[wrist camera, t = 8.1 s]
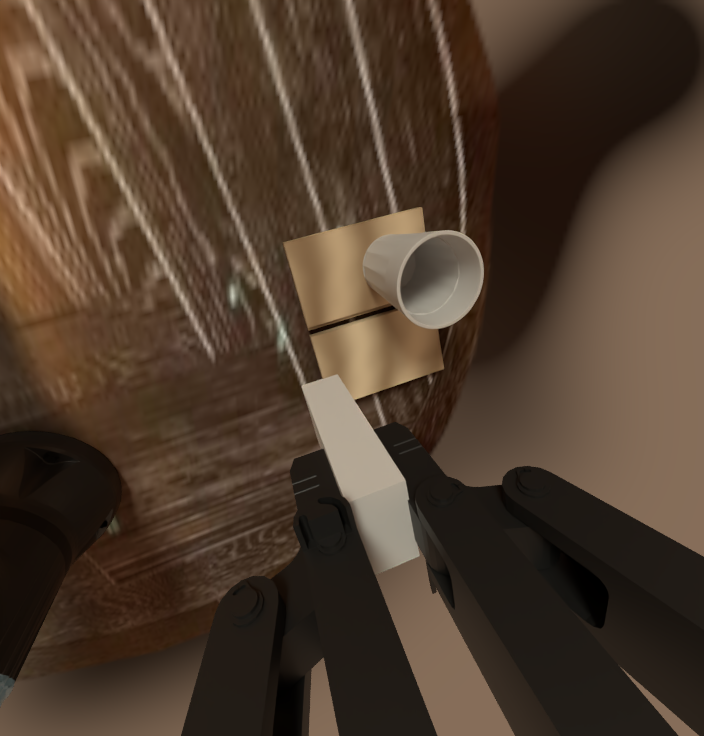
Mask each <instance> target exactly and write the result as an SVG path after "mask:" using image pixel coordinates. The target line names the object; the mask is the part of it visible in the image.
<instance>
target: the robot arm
mask: <svg viewBox="0 0 704 736" xmlns="http://www.w3.org/2000/svg"><path fill="white" fill-rule="evenodd" d="M302 389H303V393H304V396H305V399H306V403H307V406H308V409H309V412H310V416H311V419H312V422H313V425H314V429H315V432H316V435H317V438H318V442H319V444H320V447H321V450H318V451H315V452H313V453H310V454H307V455H304V456H301V457H298V458H296V459H294V461H293V464H292V467H291V470H290V475H291V479H292V484H293V489H294V494H295V499H296V504H297V509H298V511H297V512H296V514H295V516H294V523H293V528H294V530H295V533H296V535H297V538H298V541H299V543H300V546H301V548H300V550H299V552H298V554H297V556H296V557H295V558H294V560H293V561H292V562H291V563H290V564H289V565H288V566H287V567H286V568H285V569H283V570H282V571H281V572H279V573H278V574H277V575H276V576H274V577H273V578H272V579H268V578H267V577H265V576H252V577H249V578H247V579H244V580H241V581H240V582H239V583H237V584H236V585H235V586H233V587H232V588H231V589H230V590H229V591H228V592H227V593H226V595H225V596H224V597H223V598H222V600H221V602H220V604H219V606H218V608H217V611H216V613H215V616H214V620H213V623H212V627H211V630H210V634H209V638H208V641H207V645H206V648H205V652H204V655H203V659H202V663H201V666H200V670H199V673H198V677H197V680H196V684H195V687H194V691H193V695H192V698H191V702H190V705H189V709H188V713H187V716H186V720H185V723H184V727H183V731H182V734H181V736H309V713H310V689H311V688H310V687H311V669H312V668H313V667H314V666H315V665H316V664H317V663H318V662H319V661H320V660H321V659H322V658H323V657H324V661H325V666H326V671H327V676H328V681H329V686H330V691H331V696H332V701H333V706H334V711H335V717H336V722H337V726H338V732H339V736H437V734H436V731H435V729H434V726H433V723H432V721H431V719H430V716H429V713H428V710H427V708H426V705H425V703H424V700H423V697H422V695H421V693H420V690H419V687H418V685H417V682H416V679H415V677H414V674H413V672H412V669H411V667H410V664H409V661H408V659H407V656H406V654H405V651H404V649H403V646H402V643H401V641H400V638H399V636H398V633H397V630H396V628H395V625H394V623H393V620H392V617H391V615H390V612H389V610H388V607H387V605H386V603H385V599H384V597H383V595H382V592H381V589H380V587H379V584H378V581H377V579H376V577H375V575H377V574H379V573H382V572H384V571H386V570H389V569H391V568H393V567H395V566H398V565H400V564H402V563H405V562H407V561H409V560H412V559H414V558H416V557H419V550H418V546H419V548H420V550H421V551H422V553H423V555H424V557H425V559H426V564H427V570H428V576H429V581H430V586H431V589H432V593H433V594H434V593H436V588H437V590H438V592H439V594H440V596H441V598H442V599H443V601H444V603H445V605H446V607H447V609H448V611H449V613H450V614H451V616H452V618H453V620H454V622H455V624H456V626H457V627H458V630H459V631H460V633H461V635H462V637H463V639H464V641H465V643H466V644H467V646H468V648H469V650H470V652H471V654H472V656H473V658H474V659H475V661H476V663H477V665H478V667H479V669H480V671H481V673H482V674H483V676H484V678H485V680H486V682H487V684H488V686H489V688H490V689H491V691H492V693H493V695H494V697H495V699H496V701H497V703H498V704H499V706H500V708H501V710H502V712H503V714H504V716H505V718H506V719H507V721H508V723H509V725H510V727H511V729H512V731H513V732H514V734H515V736H678V735H677V733H676V732H675V731H674V730H673V729H672V728H671V726H670V725H669V724H668V723H667V722H666V721H665V719H664V718H663V717H662V716H661V715H660V714H659V712H658V711H657V710H656V709H655V708H654V706H653V705H652V704H651V703H650V702H649V701H648V699H647V698H646V697H645V696H644V695H643V694H642V692H641V691H640V690H639V689H638V688H637V687H636V685H635V684H634V683H633V682H632V681H631V679H630V678H629V677H628V676H627V675H626V674H625V672H624V671H623V670H622V669H621V668H623V669H624V670H625V671H626V672H627V673H628V674H629V675H631V676H632V677H633V678H634V679H635V680H636V681H637V682H639V683H640V684H641V685H642V686H643V687H644V688H645V689H647V690H648V691H649V692H650V693H651V694H652V695H653V696H655V697H656V698H657V699H658V700H659V701H660V702H661V703H663V704H664V705H665V706H666V707H667V708H668V709H669V710H671V711H672V712H673V713H674V714H675V715H677V717H679V718H680V719H681V720H682V721H683V722H684V723H685V724H687V725H688V726H689V727H690V728H691V729H692V730H693V731H695V732H696V733H697V734H698V735H699V736H704V557H703V556H701V555H700V554H698V553H696V552H694V551H692V550H691V549H689V548H687V547H685V546H683V545H682V544H680V543H678V542H676V541H674V540H672V539H671V538H669V537H667V536H665V535H663V534H662V533H660V532H658V531H656V530H654V529H653V528H651V527H649V526H647V525H645V524H643V523H641V522H640V521H638V520H636V519H634V518H633V517H631V516H629V515H627V514H625V513H623V512H622V511H620V510H618V509H616V508H614V507H613V506H611V505H609V504H607V503H605V502H604V501H602V500H600V499H598V498H596V497H595V496H593V495H591V494H589V493H587V492H585V491H584V490H582V489H580V488H578V487H576V486H574V485H573V484H571V483H569V482H567V481H566V480H564V479H562V478H560V477H558V476H557V475H555V474H553V473H551V472H549V471H546V470H544V469H541V468H538V467H531V466H523V467H516V468H514V469H512V470H510V471H508V472H507V473H506V475H505V476H504V477H503V481H502V485H495V486H486V487H469V486H465V485H464V484H462V483H461V482H460V481H459V480H457V479H454V478H451V477H447V476H446V475H445V474H444V472H443V471H442V470H441V469H440V467H439V466H438V465H437V464H436V462H435V461H434V460H433V459H432V458H431V456H430V455H429V454H428V453H427V451H426V450H425V449H424V448H423V447H422V446H421V444H420V443H419V442H418V440H417V439H415V437H414V435H413V434H412V433H411V432H410V431H409V429H408V428H407V427H405V426H402V425H400V424H398V423H396V422H394V423H391V424H388V425H385V426H383V427H380V428H377V429H374V430H373V429H372V427H371V426H370V424H369V422H368V421H367V419H366V418H365V416H364V415H363V413H362V412H361V410H360V408H359V407H358V405H357V404H356V402H355V401H354V399H353V398H352V396H351V394H350V393H349V391H348V390H347V388H346V387H345V385H344V384H343V382H342V380H341V379H340V377H339V376H338V374H337V375H333V376H330V377H327V378H324V379H321V380H318V381H315V382H312V383H308V384H305V385H302ZM121 493H122V490H121V482H120V479H119V476H118V474H117V472H116V470H115V468H114V467H113V465H112V464H111V463H110V462H109V460H108V459H107V458H106V457H105V456H103V455H102V454H101V453H100V452H99V451H97V450H96V449H94V448H93V447H91V446H89V445H87V444H85V443H83V442H81V441H79V440H76V439H74V438H71V437H68V436H64V435H60V434H55V433H49V432H37V431H26V432H15V433H8V434H4V435H0V706H1V704H2V703H3V701H4V700H5V699H6V698H7V697H8V695H9V694H10V693H11V691H12V688H13V687H14V683H15V681H16V679H17V677H18V675H19V672H20V670H21V668H22V666H23V664H24V662H25V660H26V658H27V656H28V653H29V651H30V649H31V647H32V645H33V643H34V641H35V639H36V636H37V634H38V632H39V630H40V628H41V626H42V624H43V622H44V620H45V617H46V615H47V613H48V611H49V609H50V607H51V605H52V603H53V601H54V598H55V596H56V594H57V592H58V590H59V588H60V586H61V584H62V582H63V579H64V577H65V575H66V573H67V571H68V570H69V568H70V566H71V565H72V564H73V563H74V562H75V561H76V560H77V559H78V558H79V557H80V556H81V555H82V554H83V553H84V552H85V551H86V550H87V549H88V548H89V547H90V546H91V545H92V544H93V543H94V542H95V541H96V540H97V539H98V538H99V537H100V536H101V535H102V534H103V533H104V532H105V531H106V529H107V528H108V526H109V525H110V523H111V522H112V520H113V518H114V515H115V513H116V511H117V508H118V506H119V503H120V500H121ZM620 667H621V668H620Z"/></svg>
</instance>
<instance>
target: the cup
mask: <svg viewBox="0 0 704 736" xmlns="http://www.w3.org/2000/svg"><path fill="white" fill-rule="evenodd" d="M363 274H364V277H365V280H366V282H367V283H368V285H369V286H370V287H371V288H372V289H373V290H375V291H376V292H377V293H378V294H380V295H381V296H382V297H383V298H384V299H386V300H387V301H388V302H389V303H390V304H392V305H393V306H394V307H395V308H396V309H398V310H399V311H400V312H401V313H402V314H403V315H404V316H406V317H407V318H408V319H409V320H410V321H411V322H413V323H414V324H416V325H417V326H420V327H422V328H426V329H440V328H444V327H447V326H450V325H452V324H454V323H456V322H457V321H459V320H460V319H461V318H462V317H464V316H465V315H466V314H467V313H468V312H469V310H470V309H471V308H472V306H473V305H474V303H475V302H476V300H477V298H478V296H479V293H480V291H481V287H482V283H483V276H484V268H483V261H482V257H481V254H480V252H479V250H478V248H477V246H476V245H475V244H474V242H473V241H472V240H471V239H470V238H468V237H467V236H465V235H464V234H462V233H459V232H456V231H450V230H444V231H433V232H423V233H412V234H388V235H384V236H381V237H379V238H378V239H376V240H375V241H374V242H373V243H372V244H371V245H370V246H369V247H368V249H367V251H366V253H365V255H364V259H363Z"/></svg>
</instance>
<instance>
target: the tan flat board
mask: <svg viewBox="0 0 704 736" xmlns="http://www.w3.org/2000/svg"><path fill="white" fill-rule="evenodd" d="M423 232H425V228H424V219H423V211H422V207H418V208H413V209H409V210H406V211H402V212H398V213H394V214H390V215H386V216H383V217H379V218H375V219H371V220H367V221H363V222H360V223H356V224H352V225H348V226H344V227H340V228H337V229H333V230H329V231H325V232H321V233H317V234H313V235H310V236H306V237H302V238H298V239H294V240H290V241H287V242H283V247H284V250H285V254H286V257H287V261H288V264H289V267H290V271H291V274H292V278H293V281H294V285H295V288H296V291H297V295H298V298H299V302H300V305H301V309H302V312H303V316H304V319H305V322H306V326H307V329H308V331H310V330H313V329H316V328H319V327H323V326H326V325H329V324H332V323H336V322H339V321H342V320H346V319H349V318H352V317H355V316H359V315H362V314H365V313H369V312H372V311H375V310H378V309H382V308H385V307H388V306H391V305H392V304H390V303H389V302H388V301H387V300H386V299H384V298H383V297H382V296H381V295H380V294H378V293H377V292H376V291H375V290H373V289H372V288H371V287H370V286H369V285H368V283H367V282H366V280H365V277H364V274H363V259H364V255H365V253H366V251H367V249H368V247H369V246H370V245H371V244H372V243H373V242H374V241H375V240H376V239H378V238H379V237H381V236H384V235H388V234H412V233H423Z"/></svg>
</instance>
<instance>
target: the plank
mask: <svg viewBox="0 0 704 736" xmlns="http://www.w3.org/2000/svg"><path fill="white" fill-rule="evenodd" d="M309 336H310V339H311V343H312V346H313V350H314V353H315V356H316V360H317V363H318V366H319V370H320V373H321V377H322V379H324V378H327V377H330V376H333V375H337V374H338V376H339V377H340V379H341V380H342V382H343V384H344V385H345V387H346V388H347V390H348V391H349V393H350V394H351V396H352V398H353V399H354V400H355V399H358V398H361V397H364V396H367V395H370V394H373V393H376V392H379V391H381V390H384V389H387V388H390V387H393V386H396V385H399V384H402V383H405V382H408V381H410V380H413V379H416V378H419V377H422V376H425V375H428V374H431V373H434V372H436V371H439V370H442V369H444V365H443V359H442V352H441V346H440V340H439V333H438V329H426V328H422V327H420V326H417V325H416V324H414V323H413V322H411V321H410V320H409V319H408V318H407V317H406V316H404V315H403V314H402V313H401V312H400V311H399V310H398V309H393V310H389V311H386V312H383V313H380V314H376V315H373V316H370V317H366V318H363V319H360V320H357V321H353V322H350V323H347V324H344V325H340V326H337V327H334V328H331V329H327V330H324V331H321V332H318V333H314V334H311V335H309Z"/></svg>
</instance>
